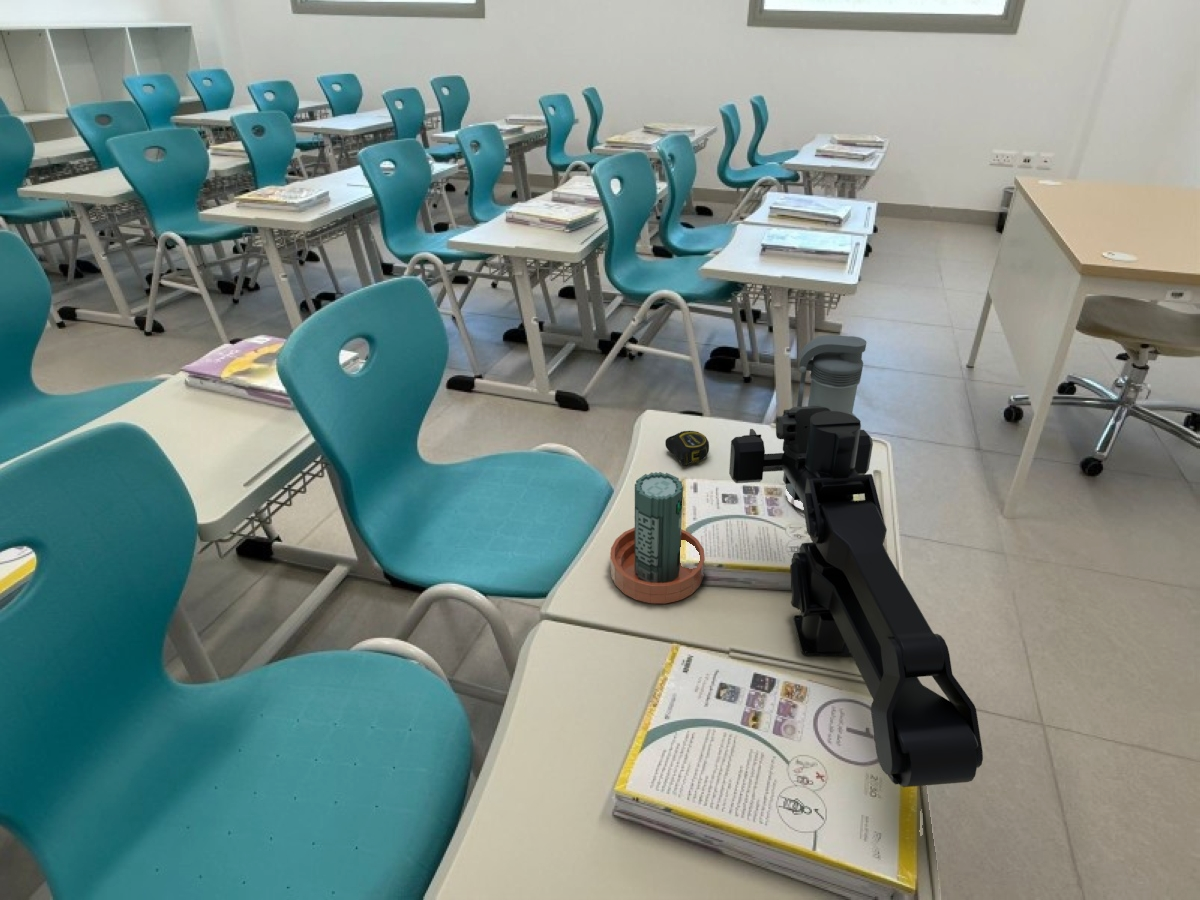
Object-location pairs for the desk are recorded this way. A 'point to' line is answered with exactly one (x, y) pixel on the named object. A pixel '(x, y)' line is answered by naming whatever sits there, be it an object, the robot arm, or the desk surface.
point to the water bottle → (831, 373)
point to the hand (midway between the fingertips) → (782, 429)
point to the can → (658, 527)
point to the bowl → (649, 591)
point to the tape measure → (688, 446)
